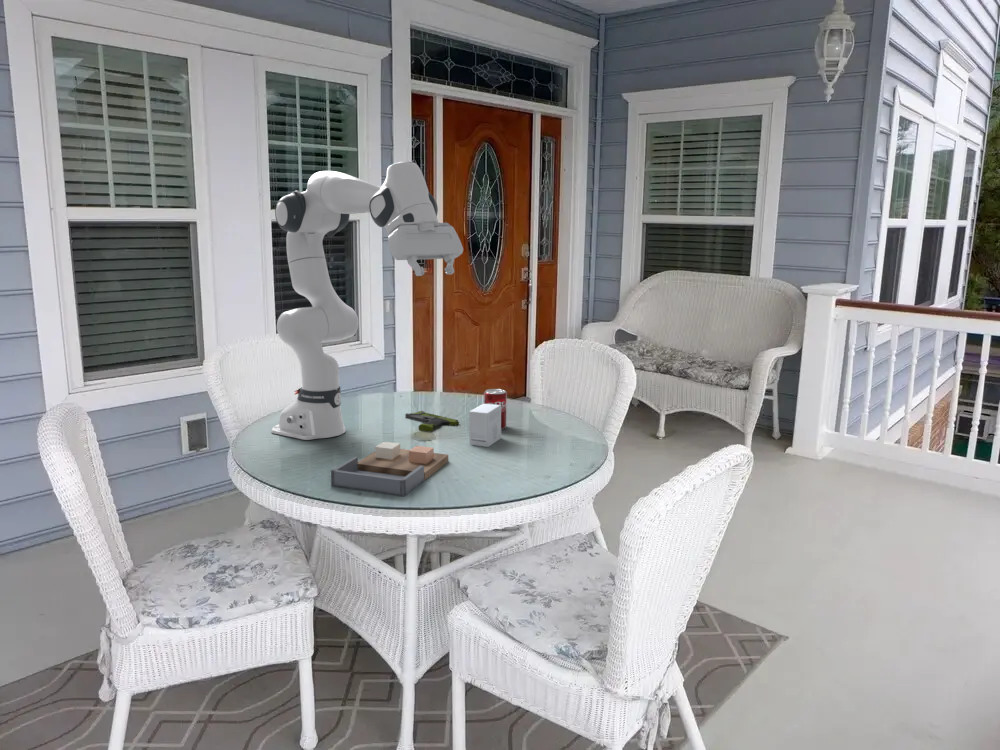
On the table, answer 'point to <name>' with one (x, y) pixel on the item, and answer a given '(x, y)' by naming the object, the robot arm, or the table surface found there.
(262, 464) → the table surface
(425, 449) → the terracotta tile
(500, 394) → the soda can
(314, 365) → the robot arm
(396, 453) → the cream tile
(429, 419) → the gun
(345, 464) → the bin
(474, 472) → the table surface
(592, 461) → the table surface
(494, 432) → the skincare box
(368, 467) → the walnut board
